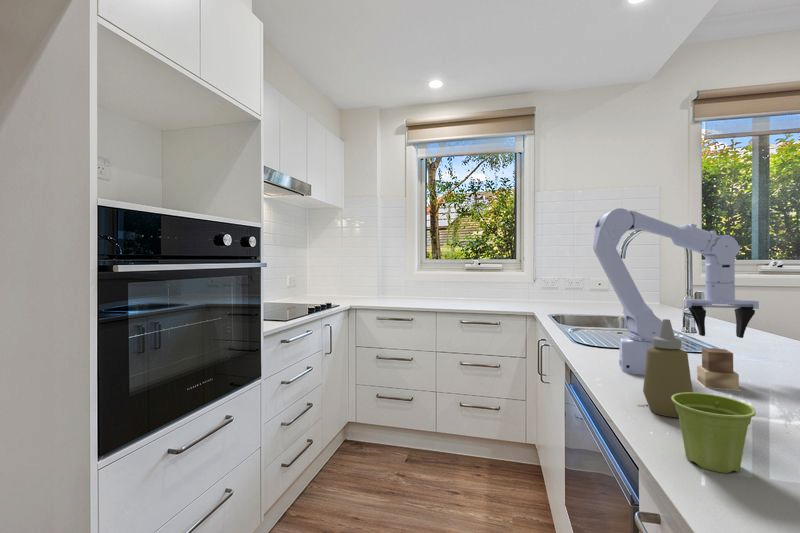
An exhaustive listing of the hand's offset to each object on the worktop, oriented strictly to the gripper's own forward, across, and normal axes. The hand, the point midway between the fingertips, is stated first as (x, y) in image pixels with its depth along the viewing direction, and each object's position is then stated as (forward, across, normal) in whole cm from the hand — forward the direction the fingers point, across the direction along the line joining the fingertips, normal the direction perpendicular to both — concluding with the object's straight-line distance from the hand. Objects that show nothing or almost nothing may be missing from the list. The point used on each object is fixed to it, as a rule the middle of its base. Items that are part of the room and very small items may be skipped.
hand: (720, 336), depth 97 cm
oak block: (+10, -4, -11) cm, 15 cm away
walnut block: (+6, -4, -11) cm, 13 cm away
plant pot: (+10, -17, -53) cm, 57 cm away
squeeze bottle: (+10, -18, -33) cm, 39 cm away
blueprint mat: (+10, -4, -11) cm, 16 cm away
